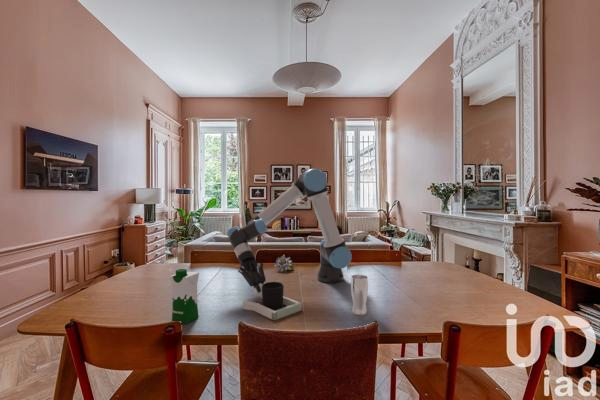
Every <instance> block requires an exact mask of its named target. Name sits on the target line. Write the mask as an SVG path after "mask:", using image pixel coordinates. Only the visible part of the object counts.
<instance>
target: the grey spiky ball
mask: <svg viewBox="0 0 600 400" xmlns="http://www.w3.org/2000/svg"><path fill="white" fill-rule="evenodd" d="M273 267H275V268H276V267H277V271H280V273H282V272H283V271H284V270H285V271H287V270H288V267H289V268H290V269H291V270H292V271H294V269H295V266H294V265H293V260H291V257H290V256H289V257H286V256H285V254H283V255H281V256H280V257H276V260H275V264H274V265H273Z"/></svg>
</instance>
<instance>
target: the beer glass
mask: <svg viewBox="0 0 600 400" xmlns="http://www.w3.org/2000/svg"><path fill="white" fill-rule="evenodd" d="M368 278H369V277H368V276H367V275H363V274H353V275H351V280H350V293H351V298H352V299H351V300H352V309H351V313H352V314H353V315H354V316H355V315H356V316H362V317H363V316H366V315H367V314H368V311H367V299H368V294H369V282H368V281H369V280H368Z"/></svg>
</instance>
